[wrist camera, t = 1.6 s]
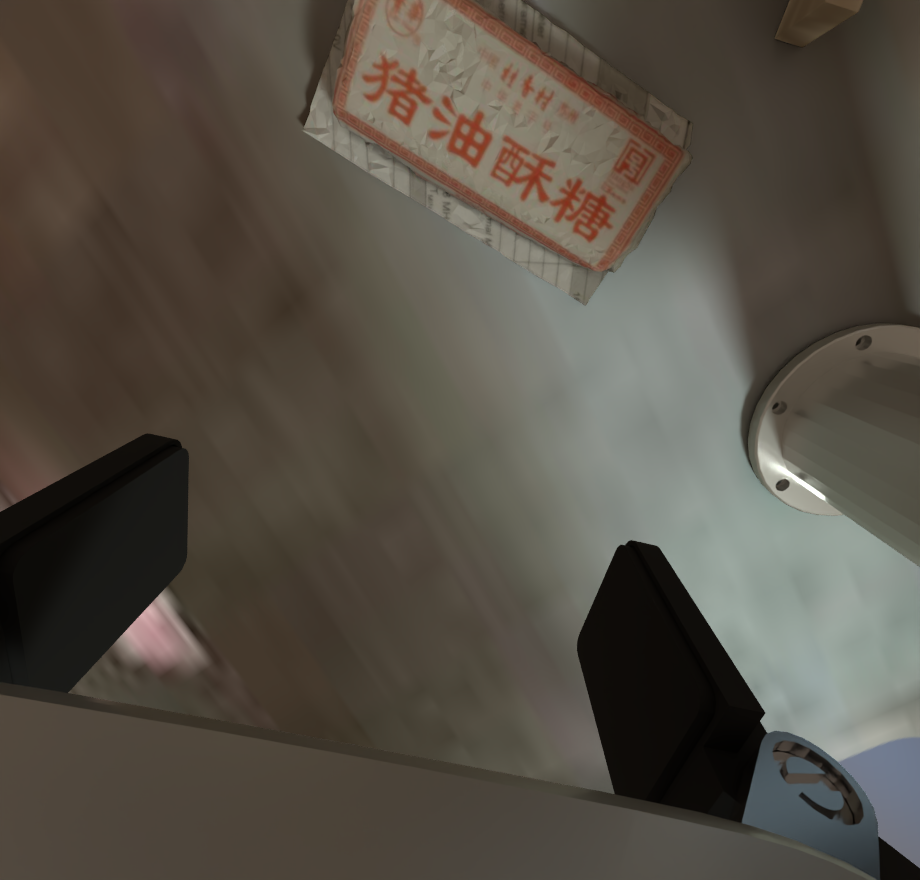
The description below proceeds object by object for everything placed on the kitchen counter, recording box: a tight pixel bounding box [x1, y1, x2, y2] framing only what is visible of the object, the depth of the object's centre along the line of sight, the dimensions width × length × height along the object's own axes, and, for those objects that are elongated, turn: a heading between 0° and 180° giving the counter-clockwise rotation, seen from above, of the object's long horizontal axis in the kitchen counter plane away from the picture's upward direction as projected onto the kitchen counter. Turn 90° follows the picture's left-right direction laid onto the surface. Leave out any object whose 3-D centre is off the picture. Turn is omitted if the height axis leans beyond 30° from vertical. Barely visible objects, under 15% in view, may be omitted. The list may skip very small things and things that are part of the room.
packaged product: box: [303, 0, 693, 305], centre depth 22 cm, size 18×5×10 cm
